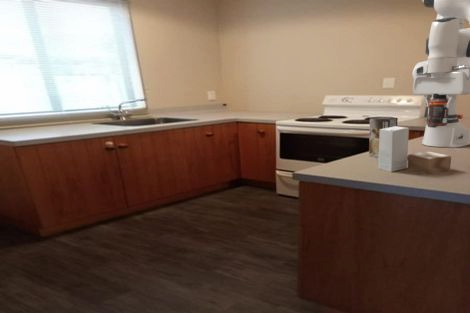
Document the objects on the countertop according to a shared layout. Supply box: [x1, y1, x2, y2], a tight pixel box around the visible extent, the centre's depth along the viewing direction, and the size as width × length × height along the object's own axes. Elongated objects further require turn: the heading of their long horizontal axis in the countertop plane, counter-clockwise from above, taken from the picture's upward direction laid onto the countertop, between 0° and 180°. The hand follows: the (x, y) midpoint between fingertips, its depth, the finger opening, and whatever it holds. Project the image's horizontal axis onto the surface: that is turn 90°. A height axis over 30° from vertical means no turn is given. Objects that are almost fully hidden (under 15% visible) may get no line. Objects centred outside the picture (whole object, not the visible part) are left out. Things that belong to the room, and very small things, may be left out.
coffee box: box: [368, 116, 399, 158], centre depth 136 cm, size 9×6×16 cm
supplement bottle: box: [428, 93, 449, 126], centre depth 116 cm, size 6×6×11 cm
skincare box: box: [377, 125, 410, 173], centre depth 116 cm, size 8×6×15 cm
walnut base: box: [407, 151, 452, 175], centre depth 114 cm, size 9×9×5 cm
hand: (438, 108), depth 116 cm, fingers closed on supplement bottle, 6 cm apart
